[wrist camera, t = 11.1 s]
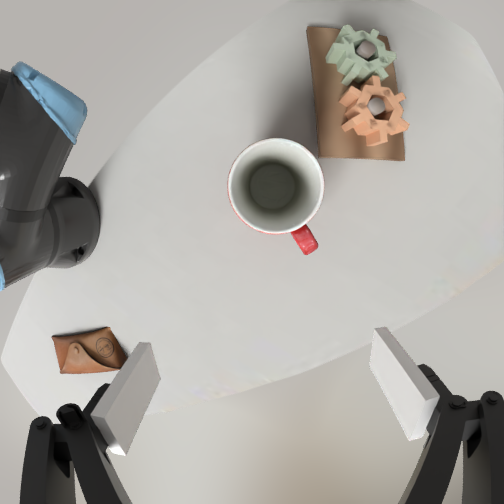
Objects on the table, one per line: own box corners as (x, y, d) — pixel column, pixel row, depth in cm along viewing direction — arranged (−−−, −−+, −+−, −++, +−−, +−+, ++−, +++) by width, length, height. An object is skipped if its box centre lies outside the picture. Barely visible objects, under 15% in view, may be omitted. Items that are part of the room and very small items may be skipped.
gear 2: (358, 154, 36) (371, 151, 31) (326, 104, 34) (334, 93, 30) (403, 128, 35) (420, 122, 30) (373, 80, 33) (386, 69, 28)
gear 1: (329, 85, 34) (337, 72, 29) (322, 37, 32) (329, 21, 27) (386, 91, 33) (401, 81, 29) (378, 45, 32) (390, 31, 27)
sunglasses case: (109, 323, 44) (103, 356, 40) (131, 343, 49) (128, 374, 44) (49, 336, 46) (42, 363, 41) (70, 352, 51) (65, 379, 46)
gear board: (318, 157, 38) (331, 151, 30) (306, 30, 33) (313, 5, 26) (400, 161, 37) (425, 157, 30) (383, 40, 32) (402, 20, 25)
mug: (226, 172, 39) (209, 166, 25) (284, 142, 37) (297, 121, 24) (269, 252, 41) (273, 283, 28) (325, 223, 40) (356, 241, 27)
